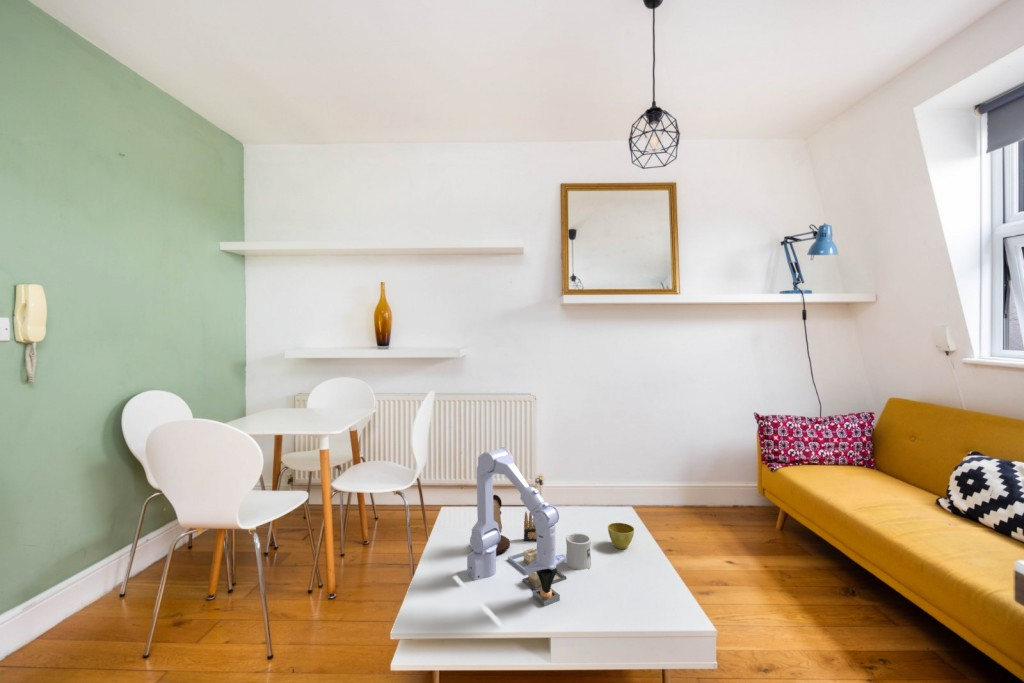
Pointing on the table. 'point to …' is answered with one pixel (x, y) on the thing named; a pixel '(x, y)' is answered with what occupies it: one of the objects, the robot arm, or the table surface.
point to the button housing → (547, 601)
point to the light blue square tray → (516, 562)
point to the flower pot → (620, 534)
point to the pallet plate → (555, 580)
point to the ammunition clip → (529, 529)
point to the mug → (578, 551)
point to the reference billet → (534, 579)
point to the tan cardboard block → (530, 556)
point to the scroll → (499, 525)
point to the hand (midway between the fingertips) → (546, 591)
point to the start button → (545, 594)
